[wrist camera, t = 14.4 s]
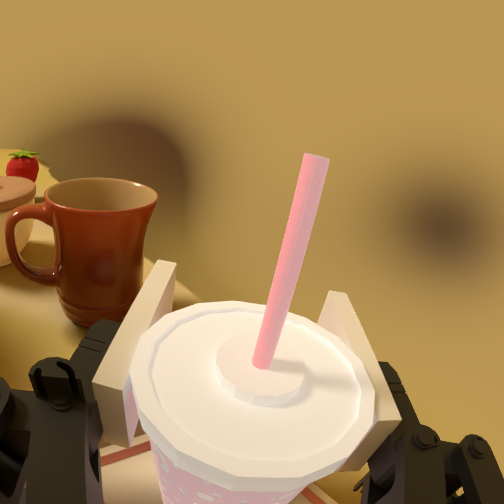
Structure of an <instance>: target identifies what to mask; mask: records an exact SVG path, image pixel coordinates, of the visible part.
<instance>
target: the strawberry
mask: <svg viewBox="0 0 504 504" xmlns="http://www.w3.org/2000/svg"><path fill="white" fill-rule="evenodd" d="M36 154H39V153H34V152H30V151H23V148H22V151H20V152H17V153H12V154H9V155H14V156H15V157H13V158H11V160H10V161H9V163H8V164H7V169H6V174H7V176H15V177H22V178H26V179H29V180H31V181H33V182H34V183H35V181H36V178H37V174H38V170H39V166H38V161H37V160H36V158H34V157H32V156H31V155H36Z"/></svg>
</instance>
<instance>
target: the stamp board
mask: <svg viewBox="0 0 504 504" xmlns="http://www.w3.org/2000/svg"><path fill="white" fill-rule="evenodd" d="M98 446H99V450H100V458H101V475H102V489H103V499H104V504H164V503H163V499H162V495H161V491H160V487H159V483H158V478H157V474H156V469H155V464H154V459H153V454H152V449H151V444H150V438H149V436H148V435H147V434H146V432H145V431H144V430H143V429H142V426H141V422H140V419H139V420H138V424H137V427H136V430H135V434H134V437H133V441H132V444H131V448H130V449H128V448H124V447H121V446H117V445H114V444H110V443H107V442H105V440H104V436H103V434H102V437H101V440H100V442H99V445H98ZM25 500H26V482H25V485H24V488H23V491H22V495H21V498H20V501H19V504H25ZM288 504H338V503H337V502H335V501H334V500H333V499H332V498H331V497H329V496H328V495H327V494H326V493H325V492H324V491H322V490H321V489H320V488H319V487H318V486H317V485H316V484H314V483H313V482H311V483H309V484H308V485H307V486H306V487H305V488H304V489H303V490H302V491H301V492H300V493H299V494H298V495H297V496H296V497H294V498H293V499H292V500H291V501H290V502H289V503H288Z"/></svg>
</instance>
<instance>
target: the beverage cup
mask: <svg viewBox="0 0 504 504" xmlns="http://www.w3.org/2000/svg"><path fill="white" fill-rule="evenodd" d="M329 161H330V159H327V158H325V157H321V156H318V155H314V154H309V153H304V157H303V161H302V166H301V170H300V174H299V179H298V183H297V187H296V191H295V195H294V199H293V203H292V207H291V212H290V215H289V220H288V224H287V228H286V232H285V236H284V240H283V244H282V247H281V251H280V255H279V259H278V263H277V267H276V271H275V275H274V279H273V283H272V286H271V290H270V294H269V298H268V302H267V305H260V304H253V303H246V302H239V301H224V302H209V303H197V304H194V305H191V306H188V307H186V308H183V309H180V310H177V311H174V312H171V313H168V314H165V315H164V316H163V317H162V318H161V319H160V320H158V321H157V322H156V323H155V324H154V325H153V326H151V327H150V328H149V329H148V330H147V331H146V332H144V333H143V334H142V335H141V337H140V339H139V342H138V345H137V348H136V351H135V353H134V356H133V359H132V362H131V365H130V378H131V382H132V386H133V389H132V391H133V395H134V399H135V403H136V407H137V411H138V415H139V419H140V422H141V426H142V429H143V430H144V431H145V432H146V434H147V435H148V436H149V438H150V444H151V449H152V454H153V459H154V464H155V469H156V474H157V478H158V483H159V487H160V491H161V495H162V499H163V503H164V504H288V503H289V502H290V501H291V500H292V499H293V498H294V497H296V496H297V495H298V494H299V493H300V492H301V491H302V490H303V489H304V488H305V487H306V486H307V485H308V484H309V483H311V482H314V481H316V480H318V479H321V478H323V477H325V476H327V475H329V474H331V473H334V472H335V470H336V469H337V468H338V467H339V466H340V464H341V463H343V462H345V460H346V459H347V458H348V457H349V455H350V454H351V453H352V452H353V450H354V449H355V448H356V446H357V445H358V444H359V442H360V441H361V440H362V438H363V437H364V436H365V434H366V433H367V431H368V430H369V429H370V427H371V426H372V424H373V415H374V401H375V390H374V387H373V385H372V383H371V381H370V378H369V376H368V374H367V372H366V370H365V367H364V365H363V363H362V361H361V360H360V359H359V358H358V357H357V356H356V355H355V354H354V353H353V352H352V351H351V350H350V349H349V348H348V347H347V346H346V345H345V344H344V343H343V342H342V341H341V340H340V339H339V338H338V337H337V336H335V335H334V334H332V333H330V332H329V331H327V330H325V329H324V328H322V327H320V326H319V325H317V324H315V323H314V322H312V321H310V320H309V319H307V318H305V317H301V316H298V315H295V314H293V313H290V312H288V310H289V306H290V303H291V300H292V296H293V293H294V290H295V286H296V283H297V280H298V276H299V273H300V269H301V266H302V262H303V259H304V255H305V252H306V248H307V245H308V241H309V238H310V234H311V230H312V226H313V223H314V219H315V216H316V212H317V208H318V204H319V201H320V196H321V193H322V189H323V185H324V181H325V177H326V173H327V169H328V165H329Z"/></svg>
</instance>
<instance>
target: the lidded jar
mask: <svg viewBox="0 0 504 504" xmlns="http://www.w3.org/2000/svg"><path fill="white" fill-rule="evenodd" d="M35 194H36V185H35V183H34V182H33V181H31V180H29V179H26V178H22V177H15V176H0V267H3V266H6V265H8V264H10V263H11V261H10V258H9V256H8V253H7V249H6V244H5V235H4V234H5V223H6V220H7V217H8V216H9V214H10V213H11V212H12V211H13V210H14V209H15V208H17V207H19V206H22V205H26V204H34V203H35ZM33 222H34V219H23V220H21V221H19V222H18V223H17V224H16V226H15V237H16V242H17V246H18V250H19V252H21V251H22V249H23V248H24V247H25V245H26V244H27V242H28V240H29V238H30V235H31V232H32V228H33Z"/></svg>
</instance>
